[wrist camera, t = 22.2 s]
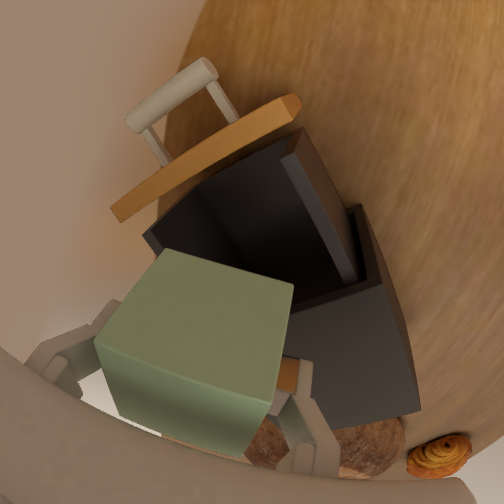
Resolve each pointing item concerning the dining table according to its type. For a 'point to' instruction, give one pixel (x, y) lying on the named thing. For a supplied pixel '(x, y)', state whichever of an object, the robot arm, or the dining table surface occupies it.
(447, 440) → the croissant
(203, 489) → the robot arm
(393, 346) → the cabinet
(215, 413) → the block
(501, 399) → the dining table surface
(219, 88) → the drawer
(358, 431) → the bread
